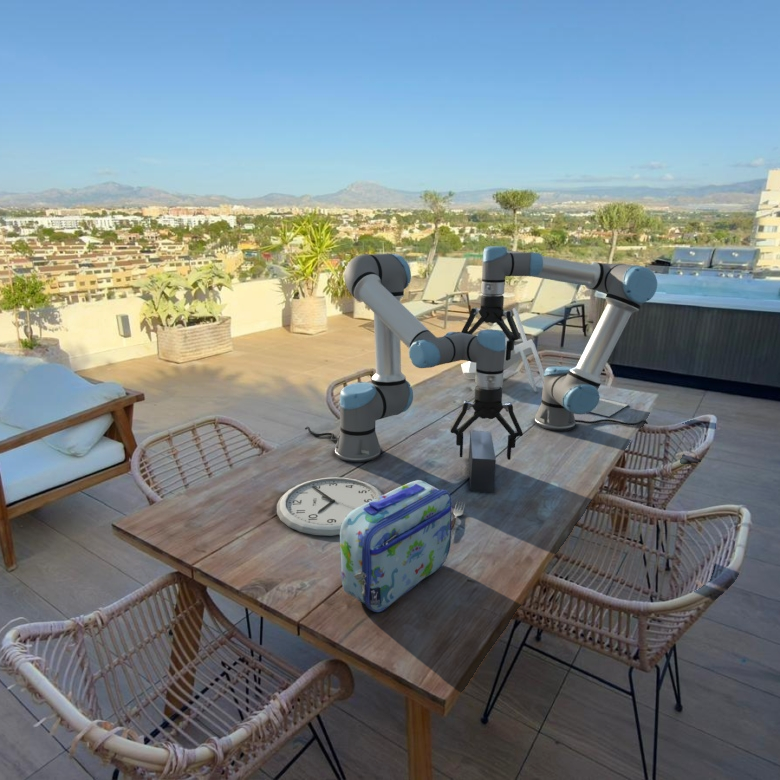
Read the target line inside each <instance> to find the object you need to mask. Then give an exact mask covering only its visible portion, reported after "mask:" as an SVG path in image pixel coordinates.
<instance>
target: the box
mask: <svg viewBox="0 0 780 780" xmlns="http://www.w3.org/2000/svg"><path fill="white" fill-rule="evenodd" d="M467 461H468V475H469V477H468V478H469V491H470V492H477V493H490V494H491V493H492V494H493V493H494V485H495V476H496V475H495V473H496V462H497V460H496V453H495V446H494V441H493V436H492V432H491V431H489V430H488V431H487V430H471V429H470V431H469V445H468V460H467Z"/></svg>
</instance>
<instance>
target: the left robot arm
mask: <svg viewBox="0 0 780 780" xmlns="http://www.w3.org/2000/svg"><path fill="white" fill-rule="evenodd" d="M343 279H344V280H343V281H344V283H345V287H346V289H347V291H348V292H349V294H350V295H351V296H352V297H353V298H354V299H355V300H356V301H358V302H360V303H364V304H365V305H366V307H368V308H369V309H370V310H371V311H372V313H373V323H374V324H373V328H374V331H373V332H374V353H375V355H374V356H375V358H374V359H375V373H374V374H373V375H372V376H371V382H366V381H361V382H354V383H349V384H347V385H346V386H343V388H342V389H341V390H340V394H339V425H340V427H339V428H340V429H339V430H340V431H339V435H338V437H337V438H335V434H334V433H332V432H322V433H315V432H313V431H312V430H311V428H310V426H305V428H304V430H307V431H308V433H309V434H310V435H312V436H314V437H322V436H331V437H330V441H331V442H336V443H335V447H334V455H335V456H336V458H338V459H339V460H341V461H345V462H349V463H365V462H370V461H374V460H376V459H378V458H379V457H380V456H381V451H382V450H381V449H382V448H381V445H380V442H379V439H378V435H377V432H376V421H379V420H382V419H385V418H389V417H393V416H398V415H400V414H402V413H404V412H406V411H408V410H409V409H410V408H411V406H412V404H413V400H414V391H413V387H411V383H410V382H409V381H408V380H407V377H406V375H405V374H404V373H403V372H402V353H401V350H402V349H401V342H402V343H403V344H404V346H406V347H407V349H408V357H409V359H410V360H411V361H410V362H411V364H412V365H413V366H414V367H416V368H418V369H428V368H434V367H437V366H442V365H447V364H450V363H455V362H459V361H465V362H468V361H470V362H475V363H476V378H475V382H474V384H475V385H476V386H475V387H474V400H473V402H469V401H467V400H463V401H462V408H461V409H460V410H459V413H458V414H457V416H456V417H455V420H454V421H453V423H452V425H451V426H450V433H451V434H455V435H456V436H455V437H456V439H455V444H456V446H459V458H463V455H464V453H463V452H464V432H465V431H466V430H467V429H468V428H469V427H470V426H471V425H473V423H474V422H476V421H477V420H478V419H479V418H481V419H482V420H485V419H488V420H494V419H496V420H497V421H498V422H499V423H500V424H501V426H502V427H503V428H504V429H505V431H506V432H507V433H508V435H507V447H506V458H507V460H508V461H509V460H511V456H512V449H515V448H516V442H517V437H523V435H524V432H523V430H522V428H521V426H520V423H519V422H518V418H517V417H516V415H515V412H514V406H513V402H511V401H509V402H508V403H503V385H504V372H505V370H504V369H503V368H504V357H505V350H506V346H505V339H506V335H505V333H504V332H503V331H502V330H499V329H481V330H479V331H478V332H477V334H472V335H471V334H465V333H461V331H448V332H447V333H446V334H445V335H443V336H439V337H437V336H436V335H435V334H433V332H431V331H430V329H428V327H426V326H425V325H424V323H422V321H420V320H419V319H418V318H417V317H416V316H415V314H413V313H412V312H411V311H410V310H409V309H408V308H407V307H406V306H405V305H404V304H403V303H402V302H401V300H402V299H403V298H404V297H405V289H407V288H408V287H409V284H410V283H411V280H412V270H411V267H410V265H409V263H408V261H407V260H406V259H405V258H404V257H403V256H402V255H400V254H397V253H388V252H387V253H374V254H372V253H371V254H365V253H363V254H358V255H356V256H354V257H352V259H350V260H349V262H348V263H347V265H346V266H345V269H344V276H343ZM476 335H478V336H476ZM471 408H472V409H473V410H474V411H473V412H472V413H471V415H469V417H468V418H467V419H465V421H464V422H463V423H461V422H462V420H463V418H464V417H465V415H466V414H467V411H469V410H470V409H471ZM502 410H505V412H507V413H508V415H509V417H510V419H511V422H512V423H513V425H514V426H513V427H514V429H515V430H514V429H513V427H512V426H511V425H510V424H509V423H508V422H507V420H506V418H504V416H503V415H502V414H501V412H502ZM459 425H460V426H459Z"/></svg>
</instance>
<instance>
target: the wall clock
mask: <svg viewBox="0 0 780 780" xmlns="http://www.w3.org/2000/svg"><path fill="white" fill-rule="evenodd" d="M384 494H385V493H383V492H382V491H381V490H380V489H379V488H377V487H376V486H374V485H372V484H371V483H369V482H365V481H362V480H359V479H355V478H349V477H338V476H337V477H335V476H333V477H332V476H331V477H322V478H317V479H312V480H307V481H305V482H302V483H299V484H297V485H295V486H293V487H292V488H290V489H288V490H287V491H286V492H285V493H284V494H283V495H281V496H280V498H279V499H278V502H277V503H276V515H277V517H278V518H279V520H280V521H281V522H282V523H283V524H285V525H286V526H287V527H288V528H290V529H293V530H295V531H297V532H299V533H303V534H308V535H312V536H327V537H328V536H329V537H331V536H332V537H333V536H340V530H341V526H342V523H343V521H344V519H345V518H346V516H347V515H348V514H349V513H350V512H351V511H353V510H354V509H356V508H358V507H360V506H362V505H364V504H366V503H368V502H370V501H372V500H374V499H376V498H378V497H380V496H382V495H384Z"/></svg>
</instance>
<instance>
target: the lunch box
mask: <svg viewBox="0 0 780 780" xmlns="http://www.w3.org/2000/svg"><path fill="white" fill-rule="evenodd" d="M383 494H384V495H382V496H380V497H378V498H376V499H374V500H372V501H370V502H368V503H366V504H364V505H362V506H360V507H358V508H356V509H354V510H353V511H351V512H350V513H349V514H348V515H347V516H346V518H345V519H344V521H343V523H342V526H341V530H340V535H339V551H340V574H341V576H340V577H341V585H342V588H343V589H342V590H343V591H344V593H346V594H348V595H350V596H352V597H353V598H355V599H357V600H358V601H359V602H361V603H362V604H364V605H365V606H366V608H367V609H369V610H370V611H371V612H374V613H381V612H384V611H385V610H386V609H387V608H389V607H390V606H391V605H392V604H393V603H395V602H396V601H397V600H399V599H400V598H401V597H402V596H404V595H405V594H407V593H408V592H410V591H411V590H412V589H413V588H415V587H416V586H417V585H418V584H419V583H420V582H421V581H423V580H425V579H426V578H427V577H429V576H430V575H432V574H434V573H435V572H436V571H438V570H439V569H440V568H441V567H442V566H443V565H444V563H445V562H446V560H447V558H448V556H449V553H450V550H451V549H450V548H451V545H452V543H451V542H452V530H451V522H452V497H451V494H450V492H449V491H448V490H446V489H438V488H437V487H435V486H434V485H431V484H429V483H427V482H426V481H424V480H421V479H416V480H413V481H410V482H408V483H405V484H403V485H401V486H399V487H397V488H394V489H393V490H390V491H388V492H387V493H383Z"/></svg>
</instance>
